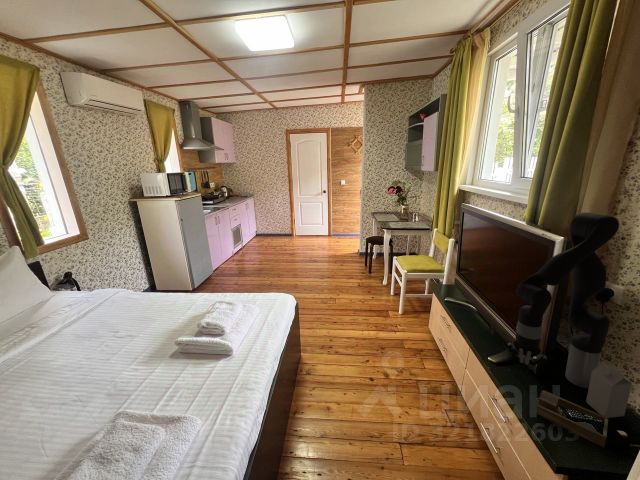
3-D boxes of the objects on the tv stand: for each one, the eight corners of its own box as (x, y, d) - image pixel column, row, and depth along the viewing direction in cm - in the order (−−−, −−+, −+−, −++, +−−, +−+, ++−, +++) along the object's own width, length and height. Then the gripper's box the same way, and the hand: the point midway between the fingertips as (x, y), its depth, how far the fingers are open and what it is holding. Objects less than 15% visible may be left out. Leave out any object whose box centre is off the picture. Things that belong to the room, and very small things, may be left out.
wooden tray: (542, 397, 107) (543, 390, 106) (606, 427, 94) (608, 418, 93) (536, 413, 101) (537, 405, 100) (604, 447, 87) (606, 438, 86)
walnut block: (541, 398, 105) (542, 390, 104) (557, 406, 101) (558, 398, 100) (538, 406, 102) (539, 398, 101) (554, 414, 98) (556, 406, 97)
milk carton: (603, 400, 103) (612, 360, 98) (624, 416, 96) (634, 374, 92) (585, 402, 103) (593, 362, 98) (605, 418, 96) (614, 376, 92)
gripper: (553, 335, 98) (547, 373, 102) (510, 322, 108) (507, 357, 112) (548, 344, 93) (542, 384, 98) (505, 330, 103) (501, 366, 107)
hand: (523, 369), depth 105 cm, fingers closed
